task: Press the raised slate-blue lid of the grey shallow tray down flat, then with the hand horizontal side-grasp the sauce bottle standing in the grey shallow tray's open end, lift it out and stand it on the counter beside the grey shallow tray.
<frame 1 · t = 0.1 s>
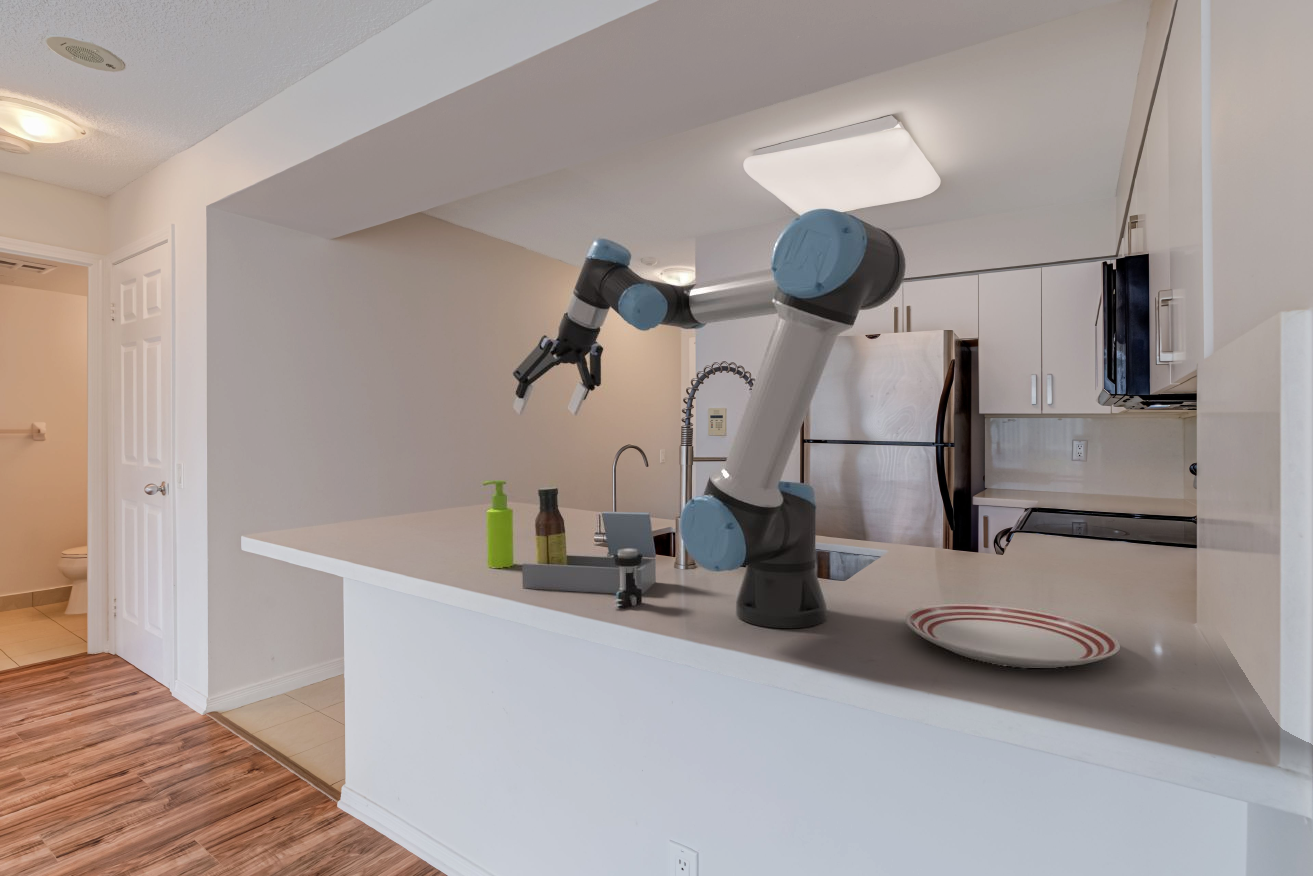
hand: (545, 411, 135), 36 cm above the countertop, tool tilted 35°, fingers open, 13 cm apart
sauce bottle: (551, 583, 138), resting in grey shallow tray
push button: (626, 606, 120), on the countertop
dinner plate: (1005, 649, 97), on the countertop
grey shallow tray: (590, 585, 135), on the countertop
lid: (628, 534, 136), point 10 cm above the countertop, hinge at 65.0°
soap dispenser: (498, 566, 154), on the countertop
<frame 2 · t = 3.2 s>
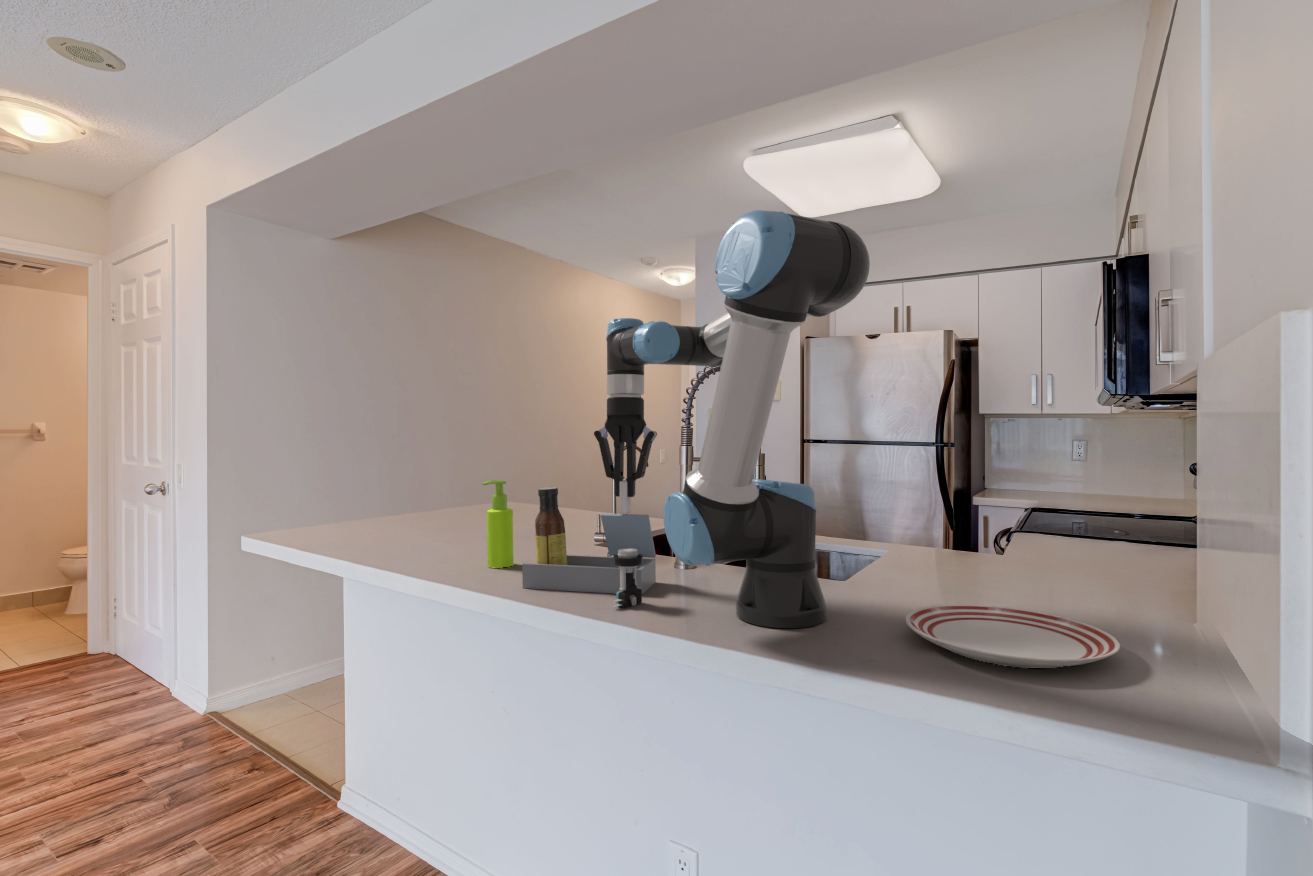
hand: (624, 512, 134), 15 cm above the countertop, tool pointing down, fingers closed
lid: (628, 535, 136), point 10 cm above the countertop, hinge at 61.1°, touching gripper
everything else where it was.
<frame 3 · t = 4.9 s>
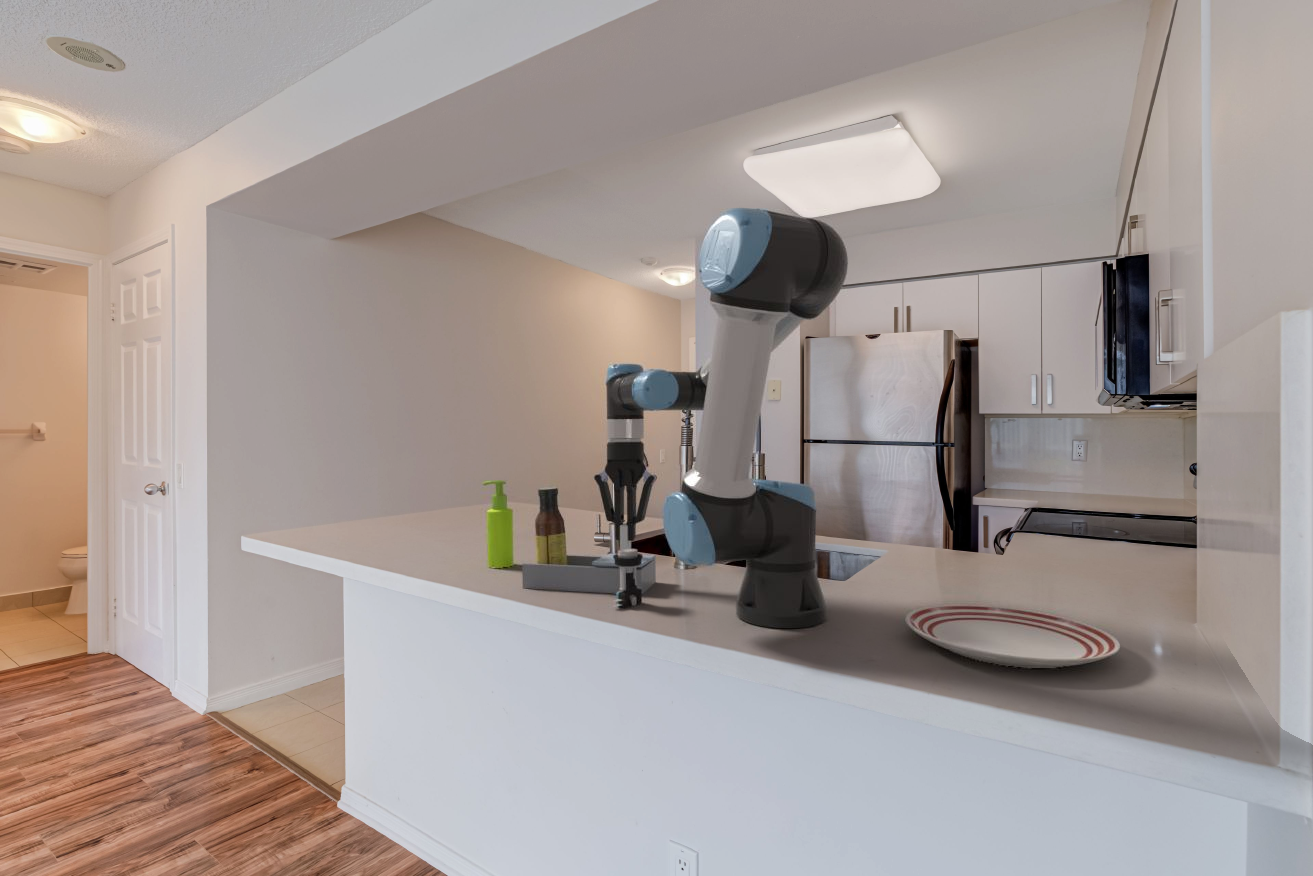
hand: (625, 556, 135), 6 cm above the countertop, tool pointing down, fingers closed
lid: (624, 560, 133), point 5 cm above the countertop, hinge at 2.1°, touching gripper
everything else where it was.
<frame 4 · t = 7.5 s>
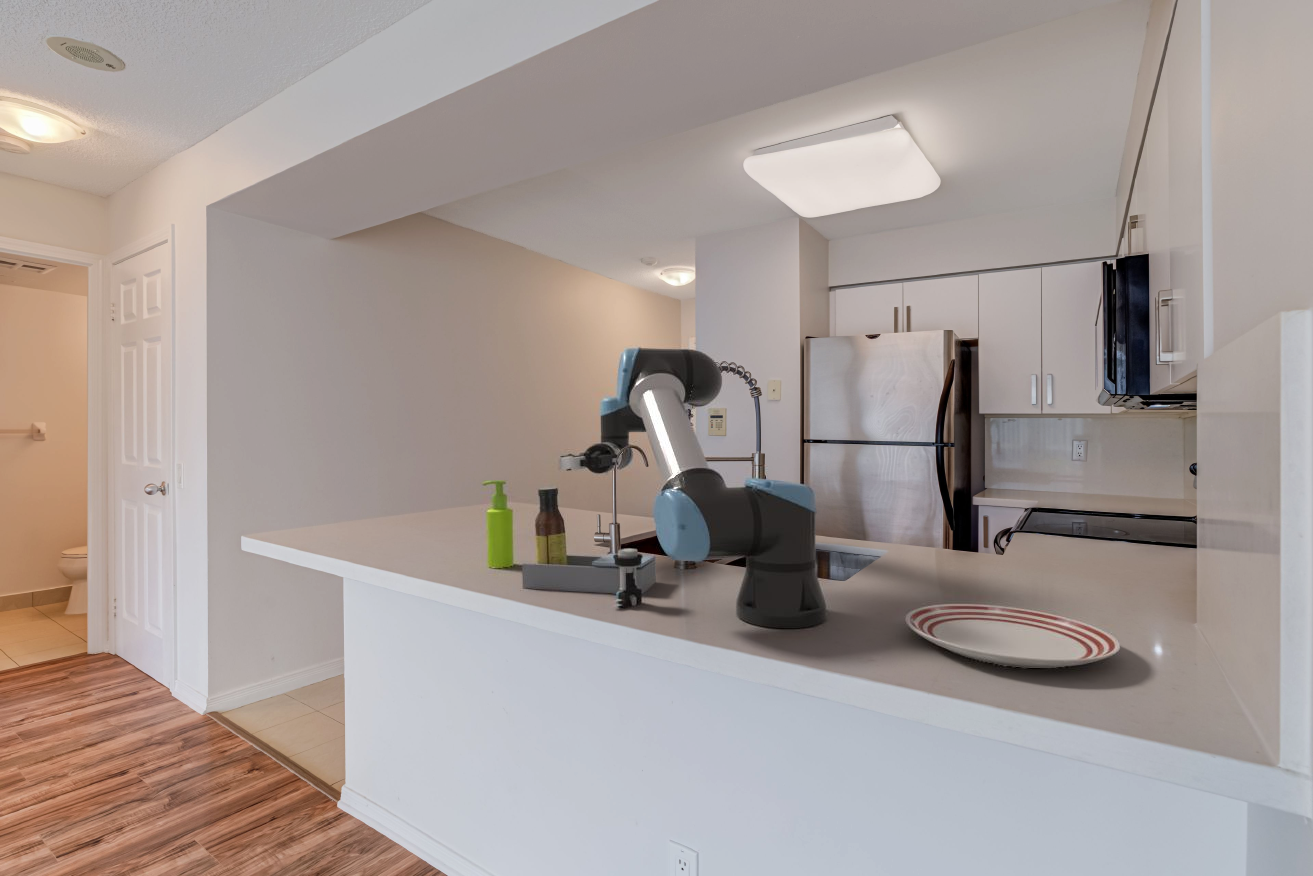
hand: (566, 464, 145), 24 cm above the countertop, tool horizontal, fingers open, 2 cm apart
lid: (624, 560, 133), point 5 cm above the countertop, hinge at 2.1°
everything else where it was.
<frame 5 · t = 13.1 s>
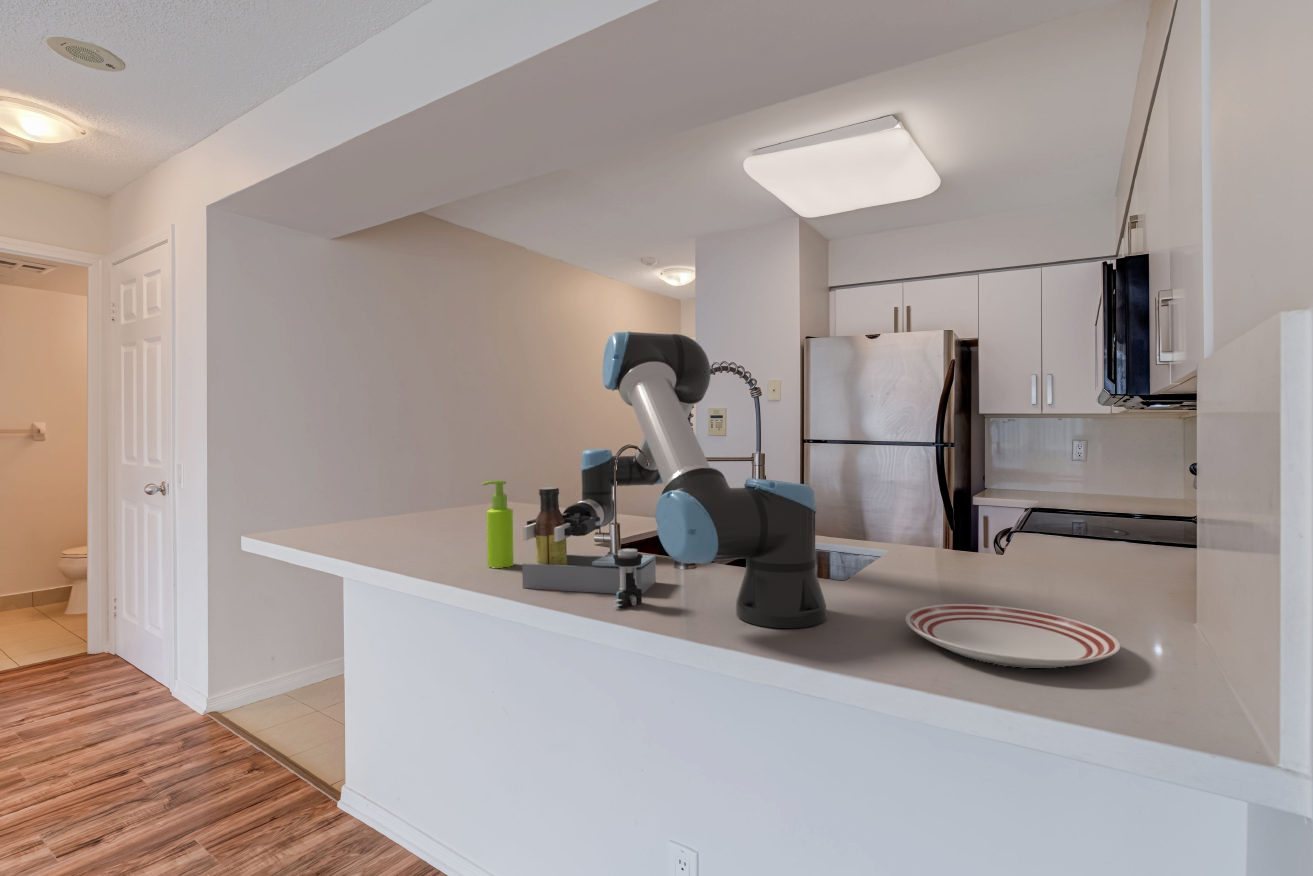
hand: (540, 534, 132), 11 cm above the countertop, tool horizontal, fingers closed on sauce bottle, 6 cm apart
sauce bottle: (551, 583, 138), resting in grey shallow tray, touching gripper
everything else where it was.
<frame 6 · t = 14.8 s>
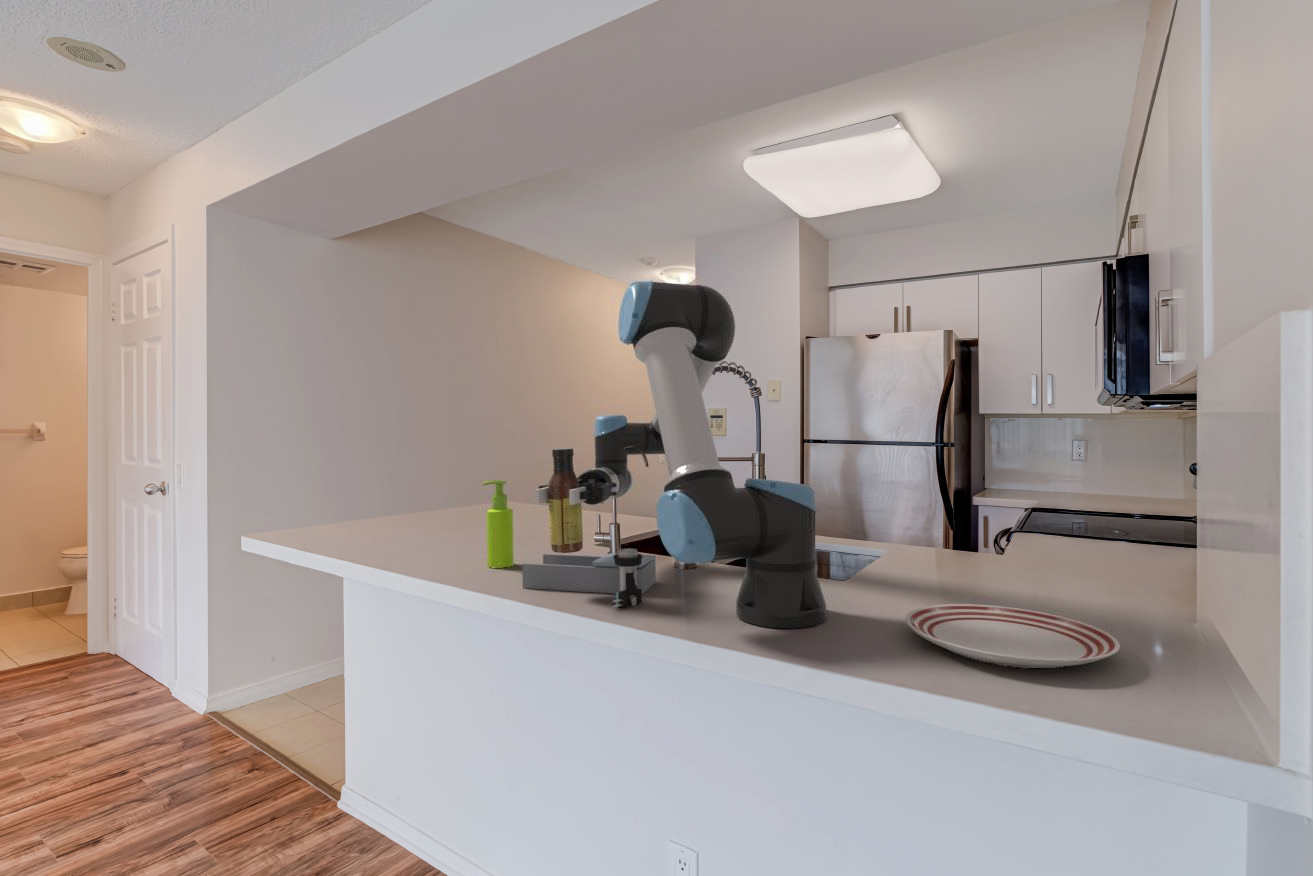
hand: (554, 497, 123), 20 cm above the countertop, tool horizontal, fingers closed on sauce bottle, 6 cm apart
sauce bottle: (565, 551, 128), point 8 cm above the countertop, touching gripper
everything else where it was.
when the fingers open (12 cm above the countertop, at t = 16.7 s): sauce bottle drops 1 cm, on the countertop.
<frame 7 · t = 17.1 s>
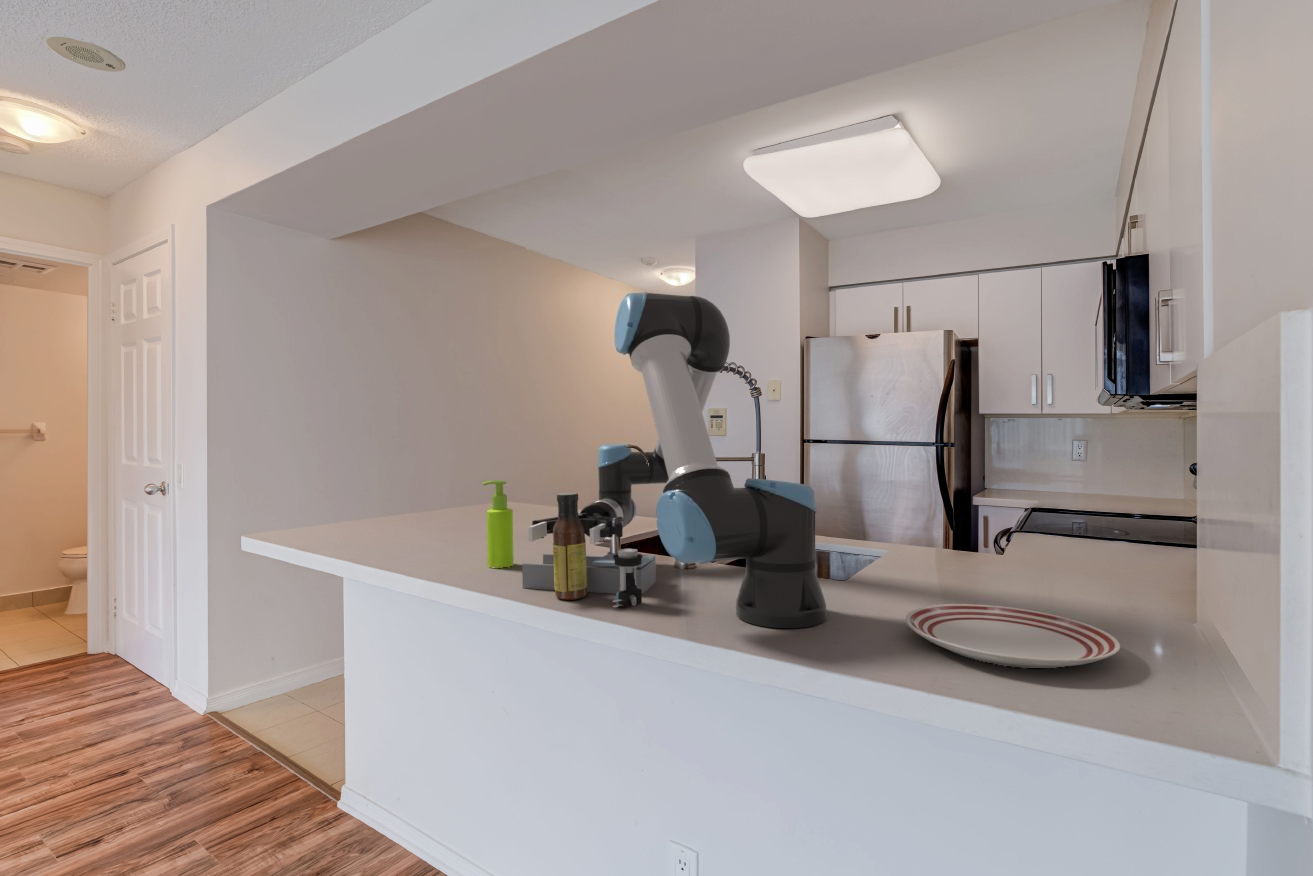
hand: (560, 535, 122), 12 cm above the countertop, tool horizontal, fingers open, 11 cm apart
sauce bottle: (570, 597, 126), on the countertop
everything else where it was.
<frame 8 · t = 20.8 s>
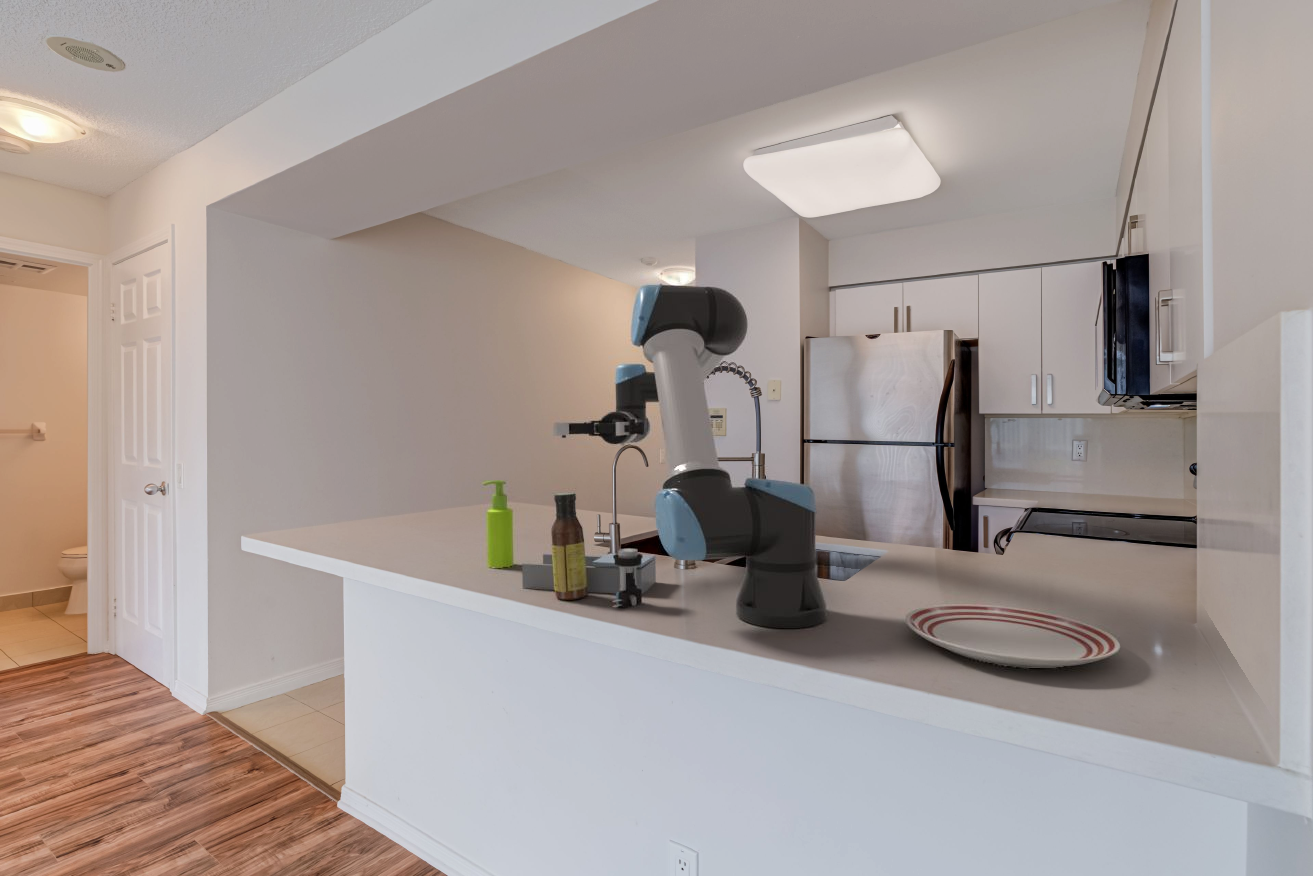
hand: (585, 429, 135), 32 cm above the countertop, tool horizontal, fingers open, 13 cm apart
nothing on the countertop moved.
at the end: lid at +2° (first picture: +65°); sauce bottle inside the target area (0.6 cm from its centre), on the countertop; sauce bottle tilted 1° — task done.
